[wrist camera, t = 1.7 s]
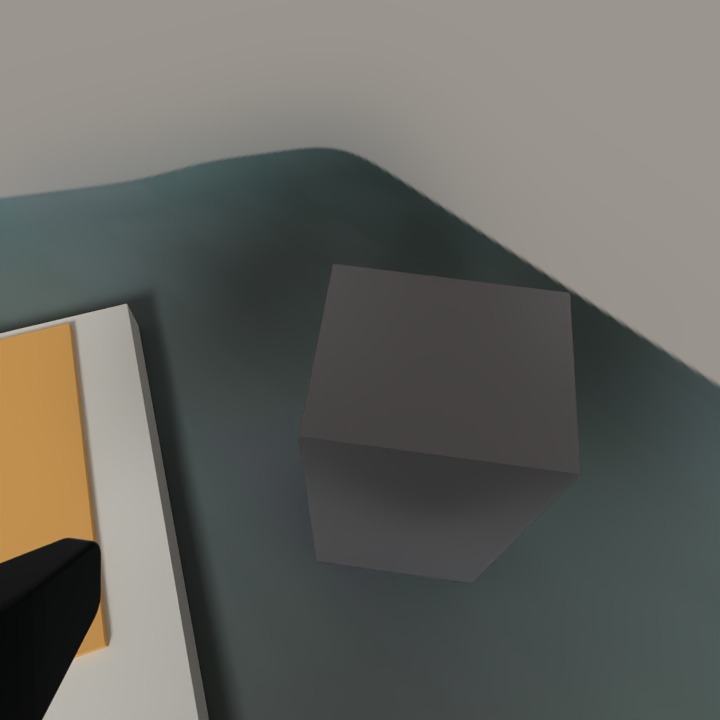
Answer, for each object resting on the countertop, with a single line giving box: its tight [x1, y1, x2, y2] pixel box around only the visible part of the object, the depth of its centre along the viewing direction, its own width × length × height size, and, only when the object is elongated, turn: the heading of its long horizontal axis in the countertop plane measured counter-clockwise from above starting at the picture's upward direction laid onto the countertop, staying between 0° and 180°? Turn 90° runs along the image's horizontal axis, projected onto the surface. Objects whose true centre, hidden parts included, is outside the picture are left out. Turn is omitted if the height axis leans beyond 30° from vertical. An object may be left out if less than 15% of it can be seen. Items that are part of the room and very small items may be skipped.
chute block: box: [299, 264, 581, 584], centre depth 16 cm, size 4×5×10 cm
